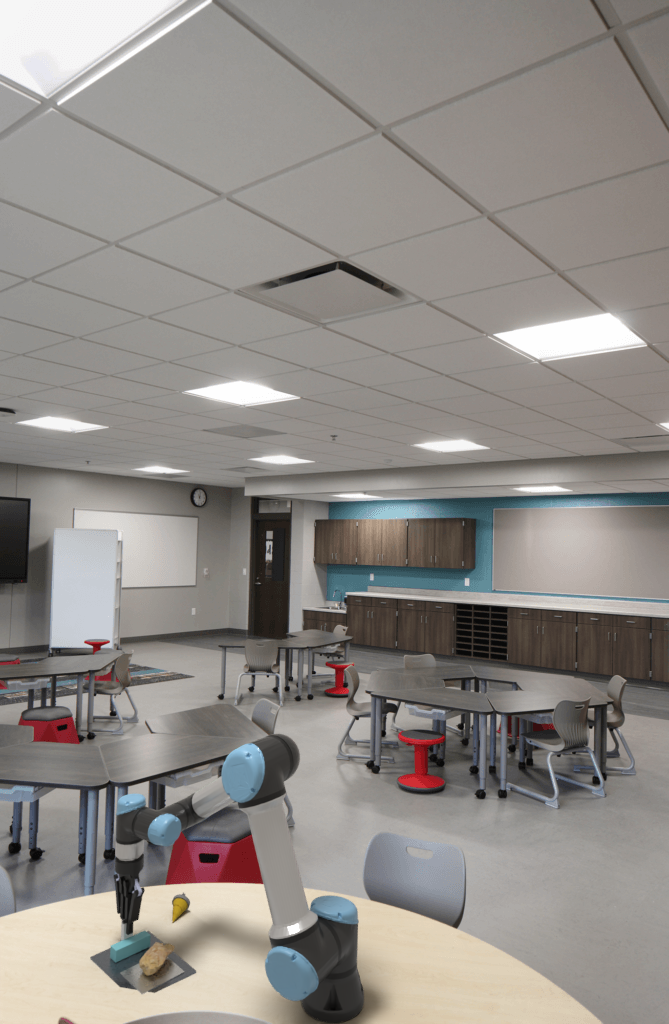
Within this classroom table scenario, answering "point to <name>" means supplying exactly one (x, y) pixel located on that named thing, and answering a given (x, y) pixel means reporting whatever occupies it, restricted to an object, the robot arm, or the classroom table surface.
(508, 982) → the classroom table surface
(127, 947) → the bar
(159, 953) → the stone tool
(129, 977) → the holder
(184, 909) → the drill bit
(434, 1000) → the classroom table surface
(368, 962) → the classroom table surface
